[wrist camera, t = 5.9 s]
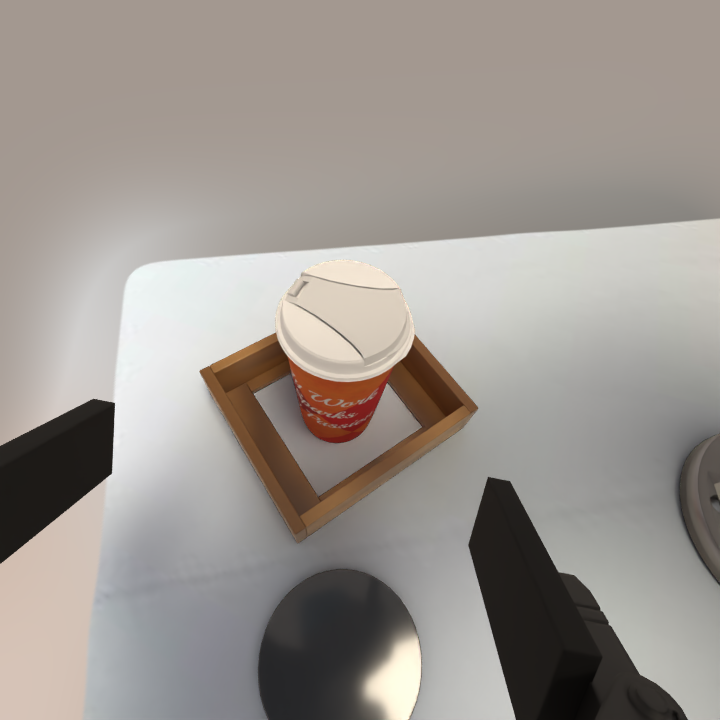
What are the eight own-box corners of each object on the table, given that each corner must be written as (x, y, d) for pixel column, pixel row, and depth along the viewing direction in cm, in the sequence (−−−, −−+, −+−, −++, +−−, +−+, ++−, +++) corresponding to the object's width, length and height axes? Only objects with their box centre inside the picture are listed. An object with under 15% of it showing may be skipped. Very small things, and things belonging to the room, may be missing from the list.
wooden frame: (367, 312, 40) (371, 284, 37) (463, 427, 35) (479, 407, 32) (210, 394, 35) (198, 370, 32) (297, 543, 30) (295, 535, 27)
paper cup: (271, 431, 34) (244, 333, 22) (315, 355, 38) (313, 235, 26) (362, 473, 33) (388, 394, 21) (399, 391, 37) (438, 283, 25)
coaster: (360, 538, 31) (361, 537, 30) (453, 682, 27) (455, 683, 26) (229, 635, 27) (228, 635, 27) (315, 814, 23) (315, 818, 23)
